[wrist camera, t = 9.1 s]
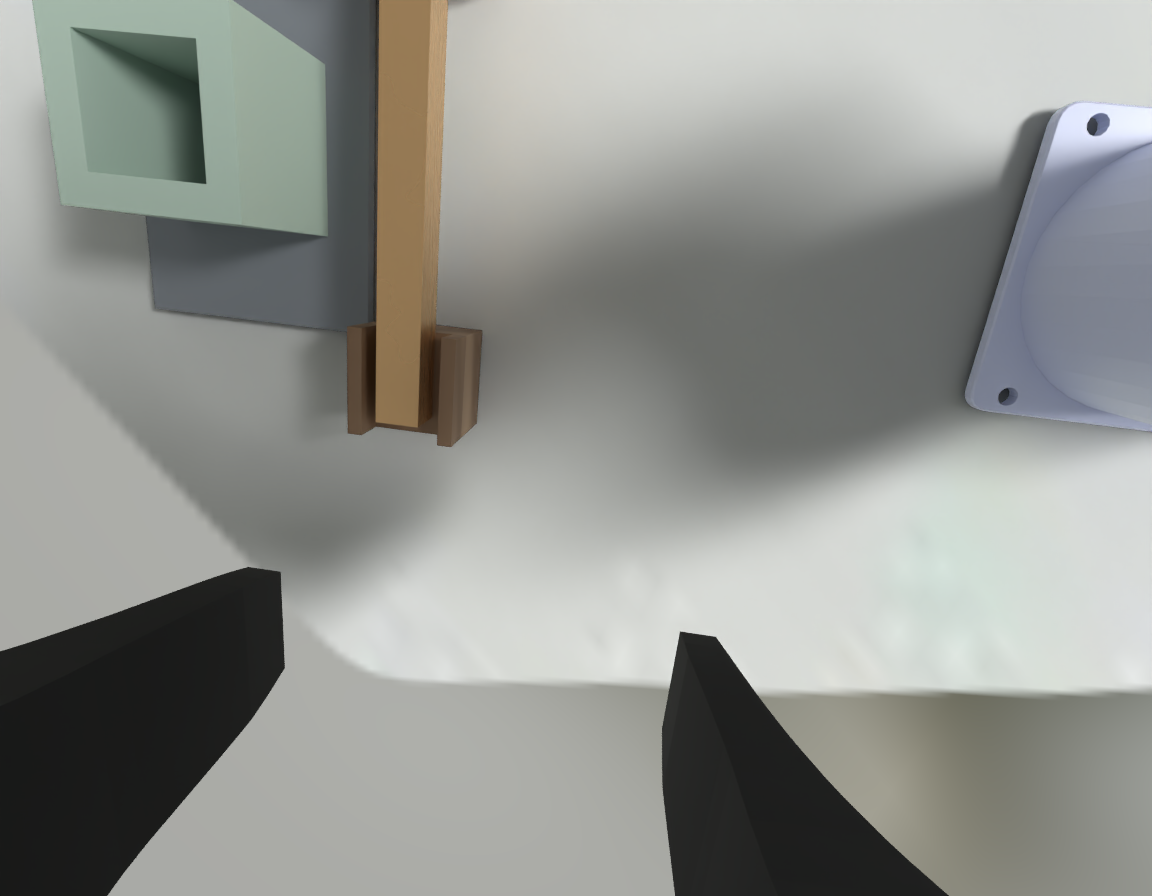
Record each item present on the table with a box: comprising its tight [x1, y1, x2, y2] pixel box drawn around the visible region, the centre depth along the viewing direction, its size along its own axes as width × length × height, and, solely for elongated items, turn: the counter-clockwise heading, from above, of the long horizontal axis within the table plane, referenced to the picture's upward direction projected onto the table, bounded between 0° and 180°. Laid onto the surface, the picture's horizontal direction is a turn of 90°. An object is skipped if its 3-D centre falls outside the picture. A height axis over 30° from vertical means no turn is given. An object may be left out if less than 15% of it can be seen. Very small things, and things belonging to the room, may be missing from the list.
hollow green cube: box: [32, 0, 328, 236], centre depth 15 cm, size 4×4×4 cm
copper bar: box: [376, 0, 448, 428], centre depth 15 cm, size 1×14×1 cm, turn 174°
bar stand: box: [347, 322, 482, 447], centre depth 16 cm, size 3×15×3 cm, turn 174°
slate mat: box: [146, 0, 376, 332], centre depth 17 cm, size 7×10×1 cm
